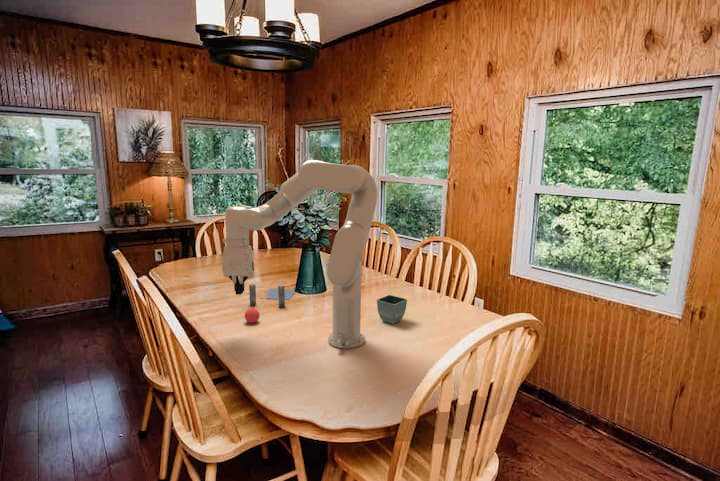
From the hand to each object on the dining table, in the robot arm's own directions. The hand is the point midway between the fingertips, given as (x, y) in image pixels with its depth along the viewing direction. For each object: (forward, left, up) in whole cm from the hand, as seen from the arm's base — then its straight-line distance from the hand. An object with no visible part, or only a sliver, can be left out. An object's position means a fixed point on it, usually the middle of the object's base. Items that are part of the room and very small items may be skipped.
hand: (239, 293), depth 145 cm
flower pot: (+18, -53, -15) cm, 58 cm away
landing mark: (+44, 0, -15) cm, 46 cm away
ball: (+10, 0, -12) cm, 16 cm away
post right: (+28, -7, -15) cm, 32 cm away
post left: (+28, +6, -15) cm, 32 cm away
